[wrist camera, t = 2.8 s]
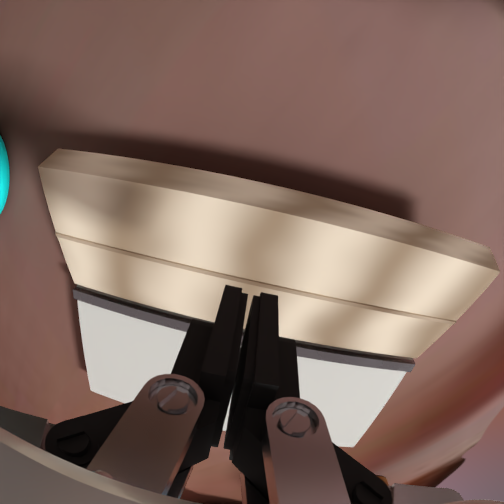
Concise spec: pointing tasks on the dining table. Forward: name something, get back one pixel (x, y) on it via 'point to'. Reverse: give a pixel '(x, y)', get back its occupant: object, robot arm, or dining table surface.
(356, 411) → the board
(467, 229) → the dining table surface
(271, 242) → the plank
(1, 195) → the donuts
